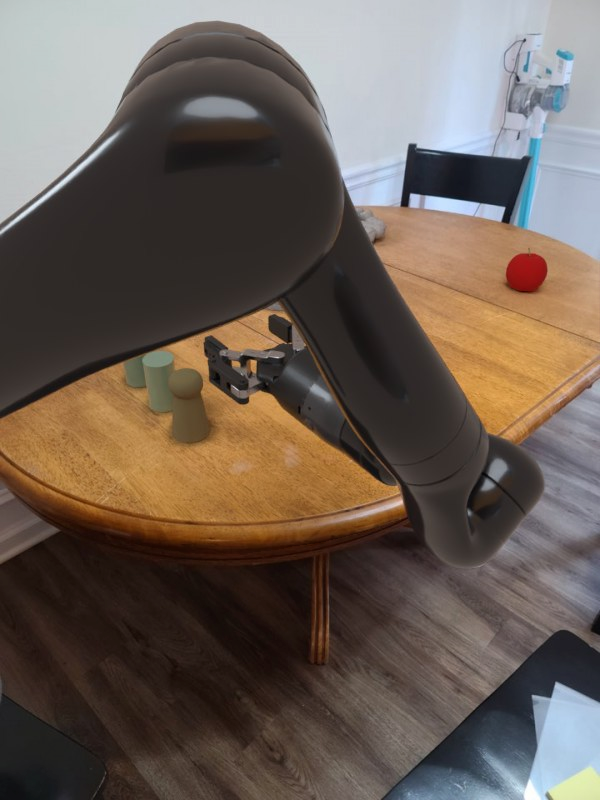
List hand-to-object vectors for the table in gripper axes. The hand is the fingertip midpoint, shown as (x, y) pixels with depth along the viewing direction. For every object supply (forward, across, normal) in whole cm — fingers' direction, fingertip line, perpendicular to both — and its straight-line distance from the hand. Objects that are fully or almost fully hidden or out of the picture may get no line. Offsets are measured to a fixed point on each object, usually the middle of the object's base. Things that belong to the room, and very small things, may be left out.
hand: (240, 332), depth 64 cm
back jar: (+35, -1, +26) cm, 44 cm away
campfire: (+69, -84, +26) cm, 112 cm away
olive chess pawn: (+17, -1, +26) cm, 31 cm away
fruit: (+17, -93, +26) cm, 98 cm away
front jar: (+26, -1, +26) cm, 37 cm away
